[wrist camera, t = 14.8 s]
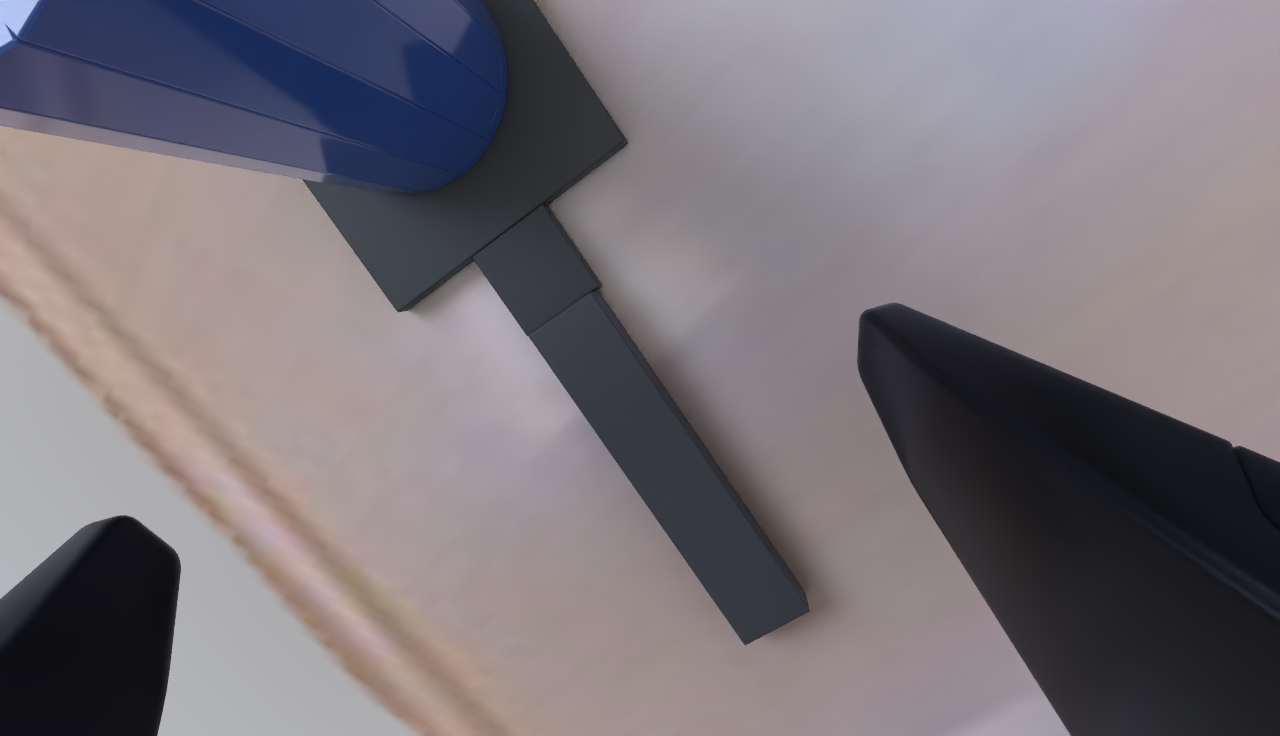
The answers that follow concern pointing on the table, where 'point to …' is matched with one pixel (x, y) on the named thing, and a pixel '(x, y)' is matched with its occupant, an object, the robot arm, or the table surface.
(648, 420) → the spatula
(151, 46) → the cup
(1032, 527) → the robot arm
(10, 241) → the table surface
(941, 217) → the table surface
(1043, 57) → the table surface
